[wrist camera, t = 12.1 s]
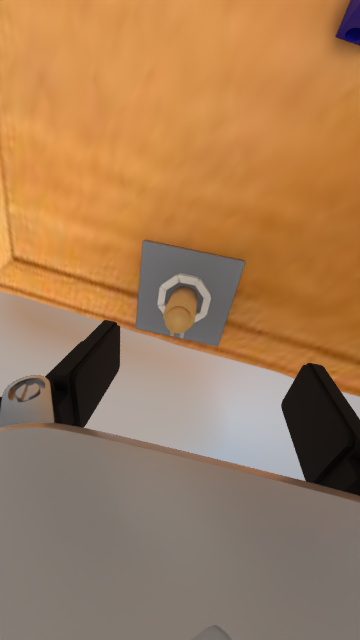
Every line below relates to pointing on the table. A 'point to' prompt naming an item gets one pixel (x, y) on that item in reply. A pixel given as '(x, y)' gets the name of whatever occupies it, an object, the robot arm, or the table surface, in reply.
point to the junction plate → (191, 271)
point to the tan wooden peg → (181, 310)
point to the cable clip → (351, 24)
